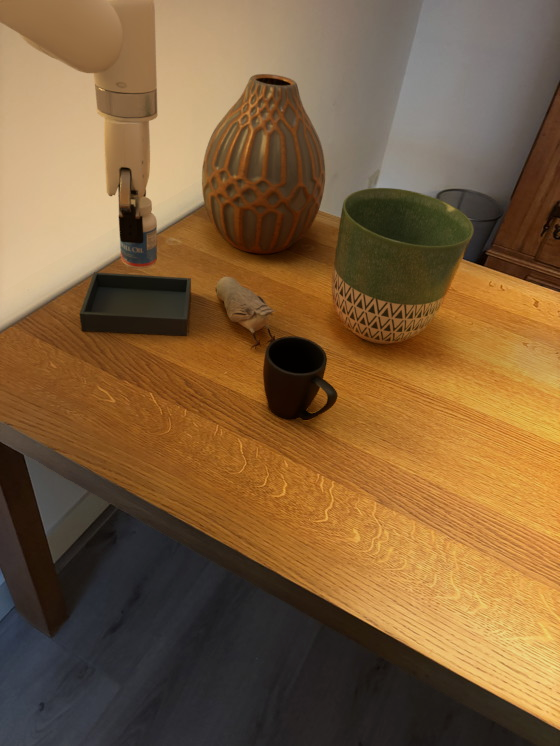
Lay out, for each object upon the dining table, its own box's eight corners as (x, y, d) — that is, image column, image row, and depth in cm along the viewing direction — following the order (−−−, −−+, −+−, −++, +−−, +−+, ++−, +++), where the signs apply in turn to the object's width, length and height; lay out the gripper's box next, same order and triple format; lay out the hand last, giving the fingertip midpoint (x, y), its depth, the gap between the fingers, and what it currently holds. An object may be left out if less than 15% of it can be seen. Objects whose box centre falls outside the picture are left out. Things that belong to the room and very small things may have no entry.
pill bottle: (113, 262, 83) (109, 202, 77) (133, 248, 87) (130, 189, 81) (145, 273, 82) (142, 213, 76) (163, 258, 86) (163, 199, 79)
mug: (297, 454, 71) (308, 401, 65) (247, 398, 78) (253, 345, 72) (344, 431, 75) (359, 380, 69) (293, 380, 82) (302, 329, 76)
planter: (386, 292, 105) (417, 183, 91) (453, 352, 92) (502, 237, 78) (298, 310, 96) (318, 193, 83) (359, 378, 84) (395, 255, 70)
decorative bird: (232, 296, 97) (235, 258, 92) (280, 347, 88) (286, 308, 83) (205, 302, 95) (207, 264, 90) (252, 355, 85) (256, 316, 80)
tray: (81, 331, 85) (79, 313, 83) (95, 288, 94) (93, 272, 92) (186, 336, 87) (187, 319, 85) (190, 294, 96) (190, 278, 94)
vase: (325, 229, 122) (353, 80, 102) (295, 279, 104) (322, 109, 84) (226, 204, 126) (235, 55, 106) (180, 248, 108) (181, 79, 88)
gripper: (107, 80, 75) (117, 205, 87) (83, 118, 63) (98, 259, 74) (162, 86, 76) (165, 209, 88) (150, 125, 64) (154, 262, 75)
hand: (134, 230), depth 81 cm, fingers closed on pill bottle, 5 cm apart
